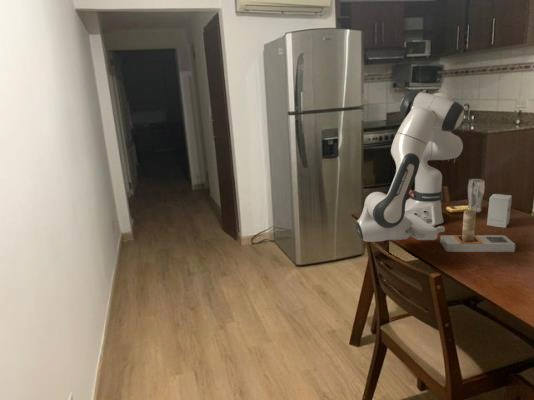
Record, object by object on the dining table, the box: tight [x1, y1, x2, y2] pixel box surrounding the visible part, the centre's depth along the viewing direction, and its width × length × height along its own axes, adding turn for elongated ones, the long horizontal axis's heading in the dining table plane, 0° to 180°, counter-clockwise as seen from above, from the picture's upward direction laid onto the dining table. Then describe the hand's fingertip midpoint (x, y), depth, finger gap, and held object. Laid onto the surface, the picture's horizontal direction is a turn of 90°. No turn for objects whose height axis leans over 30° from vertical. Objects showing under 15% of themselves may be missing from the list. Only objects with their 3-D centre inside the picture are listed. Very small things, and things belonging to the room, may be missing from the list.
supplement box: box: [486, 193, 513, 229], centre depth 167 cm, size 7×7×13 cm
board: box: [439, 234, 516, 253], centre depth 146 cm, size 23×9×3 cm, turn 81°
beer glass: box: [467, 178, 486, 214], centre depth 186 cm, size 7×7×15 cm
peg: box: [461, 209, 477, 242], centre depth 146 cm, size 4×4×14 cm
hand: (437, 224), depth 144 cm, fingers open, 8 cm apart
